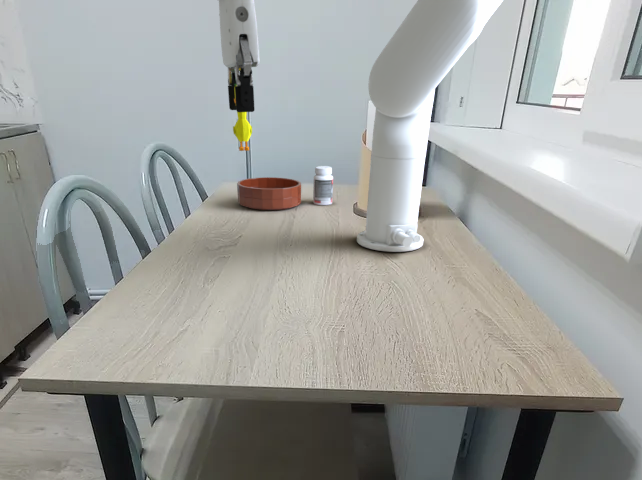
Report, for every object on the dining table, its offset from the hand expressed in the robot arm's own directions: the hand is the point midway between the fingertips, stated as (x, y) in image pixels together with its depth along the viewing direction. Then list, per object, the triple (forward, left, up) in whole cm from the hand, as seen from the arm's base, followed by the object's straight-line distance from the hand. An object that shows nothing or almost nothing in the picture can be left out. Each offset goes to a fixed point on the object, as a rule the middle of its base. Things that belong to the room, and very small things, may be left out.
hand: (241, 109), depth 96 cm
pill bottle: (+20, -24, -22) cm, 38 cm away
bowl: (+22, -11, -22) cm, 33 cm away
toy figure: (0, 0, -7) cm, 7 cm away
